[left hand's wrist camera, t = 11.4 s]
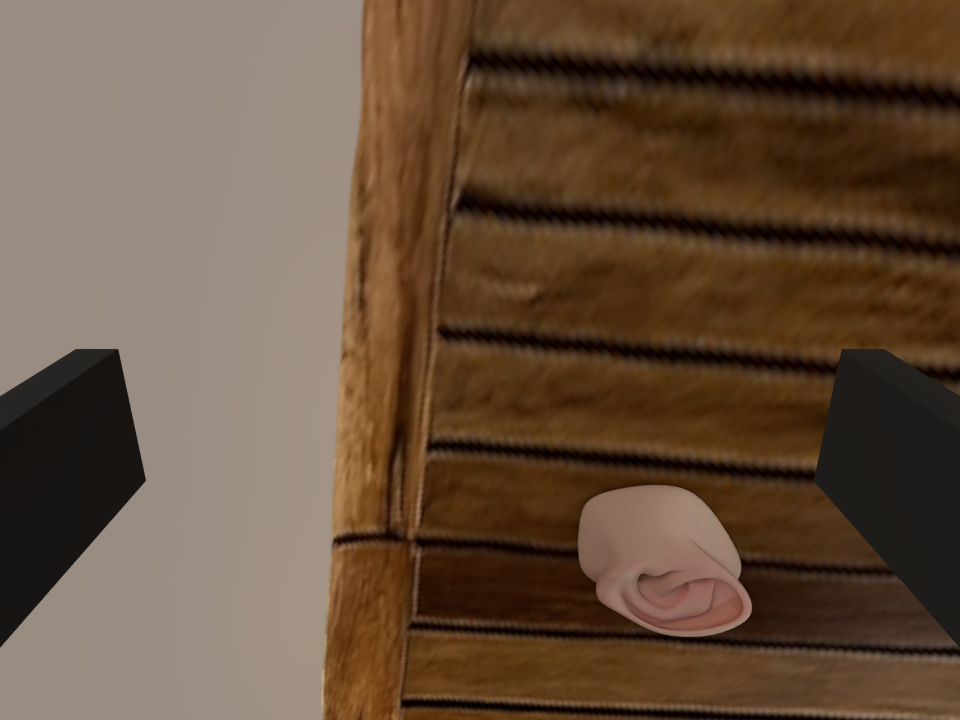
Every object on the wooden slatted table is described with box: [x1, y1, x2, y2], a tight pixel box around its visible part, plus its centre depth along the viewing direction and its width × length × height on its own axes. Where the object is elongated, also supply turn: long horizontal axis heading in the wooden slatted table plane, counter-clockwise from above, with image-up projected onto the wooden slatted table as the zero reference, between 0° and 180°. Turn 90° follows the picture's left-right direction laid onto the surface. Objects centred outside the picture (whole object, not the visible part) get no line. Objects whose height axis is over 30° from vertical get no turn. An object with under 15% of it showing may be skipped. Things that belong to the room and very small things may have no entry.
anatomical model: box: [578, 485, 752, 637], centre depth 50 cm, size 13×4×12 cm
